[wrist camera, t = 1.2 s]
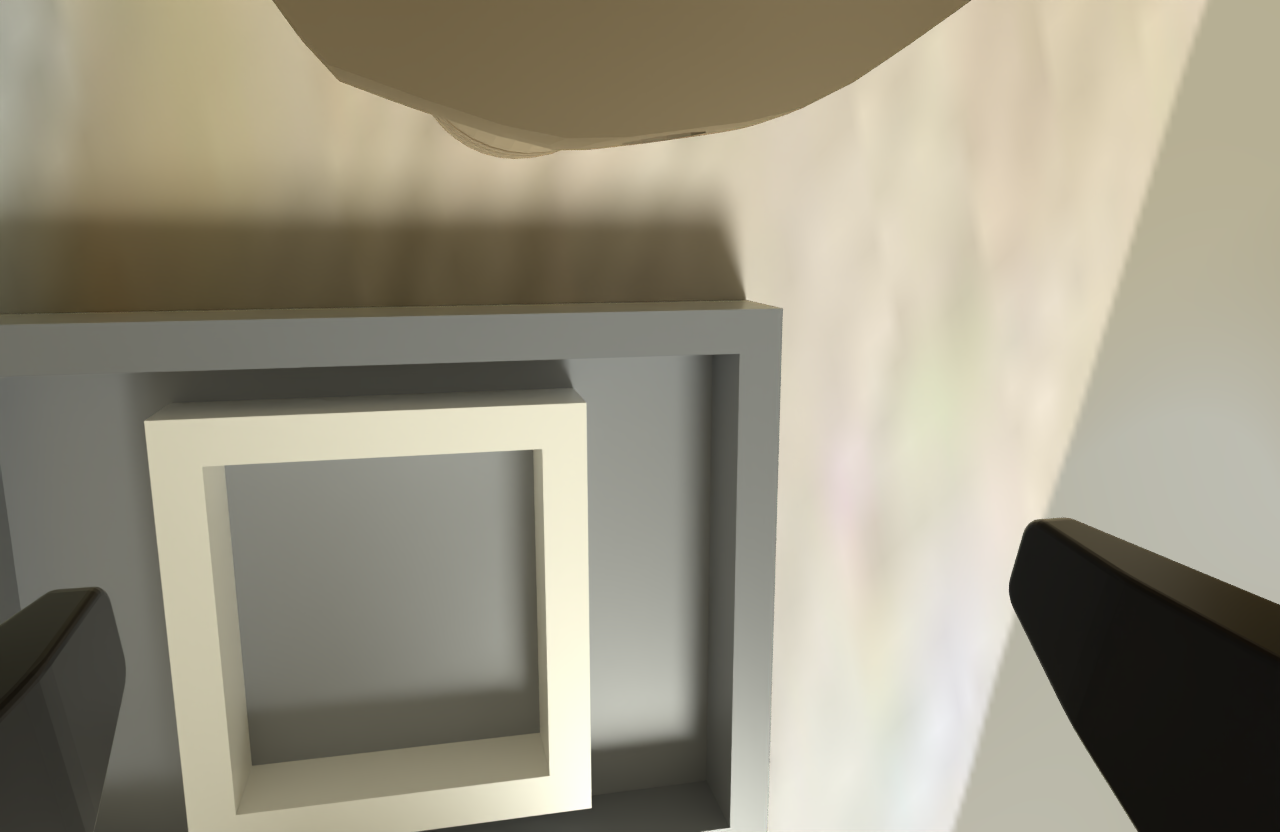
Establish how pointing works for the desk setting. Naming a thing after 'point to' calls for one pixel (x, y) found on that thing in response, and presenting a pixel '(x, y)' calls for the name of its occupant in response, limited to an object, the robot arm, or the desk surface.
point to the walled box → (412, 558)
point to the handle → (604, 62)
